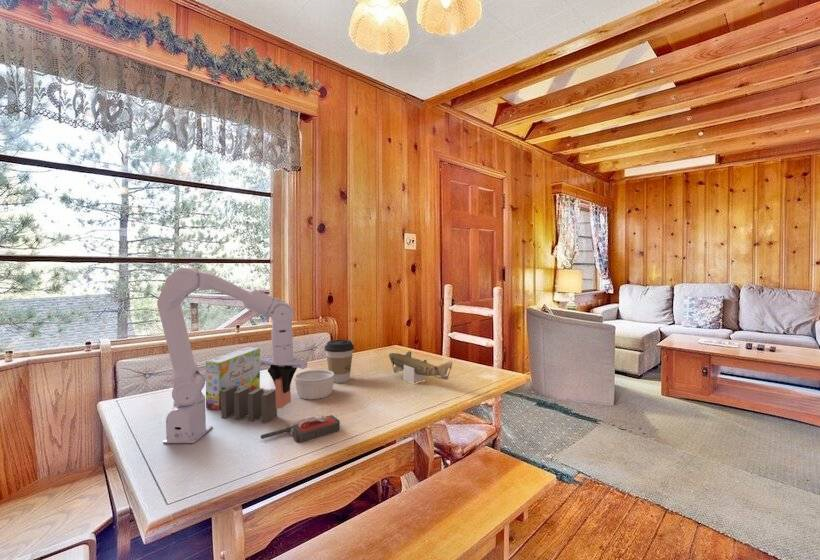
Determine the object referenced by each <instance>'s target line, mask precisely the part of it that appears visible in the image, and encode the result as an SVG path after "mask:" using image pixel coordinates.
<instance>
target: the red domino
mask: <svg viewBox="0 0 820 560" xmlns="http://www.w3.org/2000/svg"><path fill="white" fill-rule="evenodd" d="M274 387H275V389H274V390H275V393H276V408H277V409H282V408H284V407H285V406H287V405H289V403H291V401H292V400H291V395H292V394H291V388H290V389H289V391H288V392H286V393H283V382H282V377H280V378H278V379H276V380H275V384H274Z"/></svg>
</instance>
